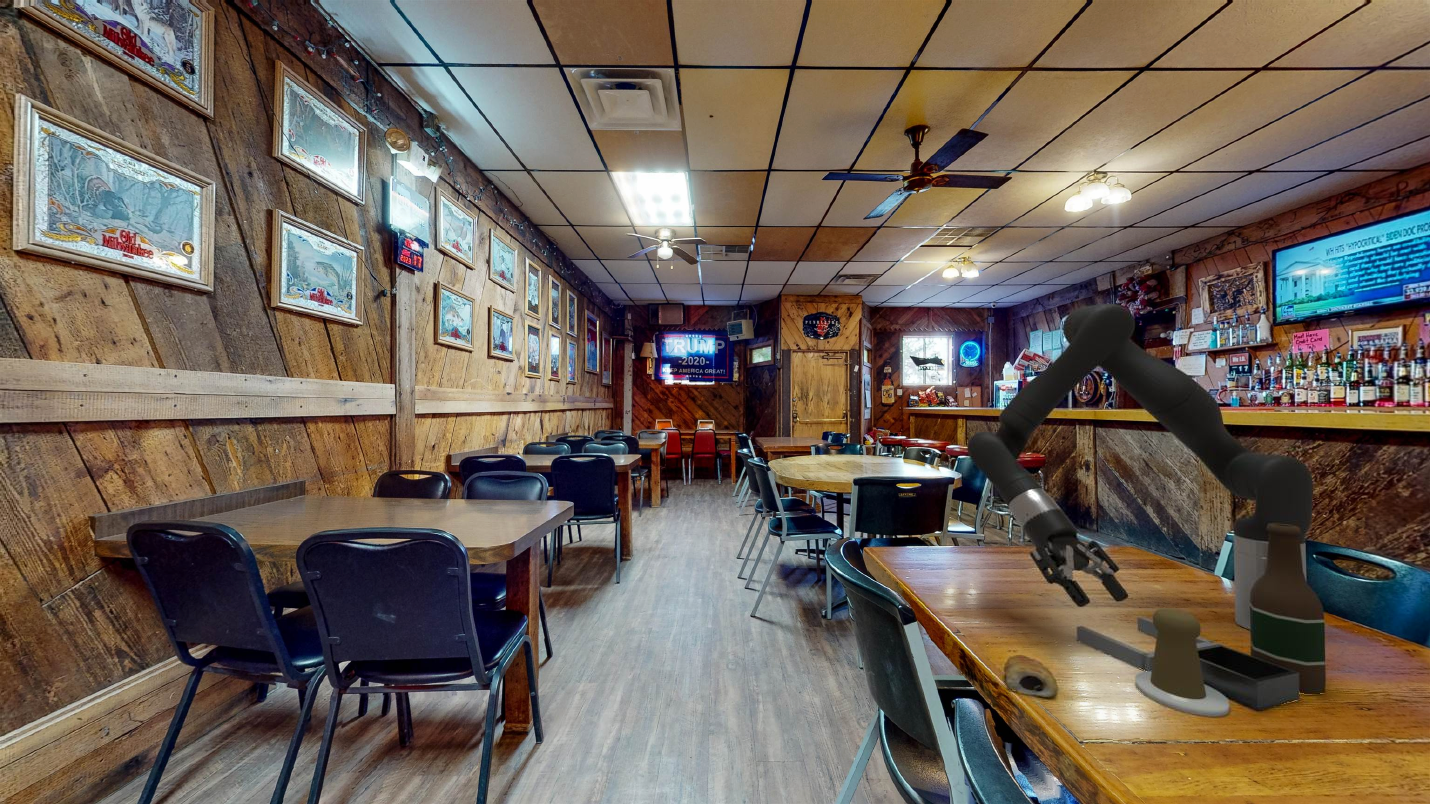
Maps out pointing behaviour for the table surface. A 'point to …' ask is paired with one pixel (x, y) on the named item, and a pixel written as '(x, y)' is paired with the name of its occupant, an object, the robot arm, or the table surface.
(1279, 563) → the beer bottle
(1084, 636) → the grey u-shaped frame
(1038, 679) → the pastry
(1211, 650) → the open storage bin
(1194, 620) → the cork
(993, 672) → the table surface
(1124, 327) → the robot arm
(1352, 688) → the table surface
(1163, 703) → the saucer
